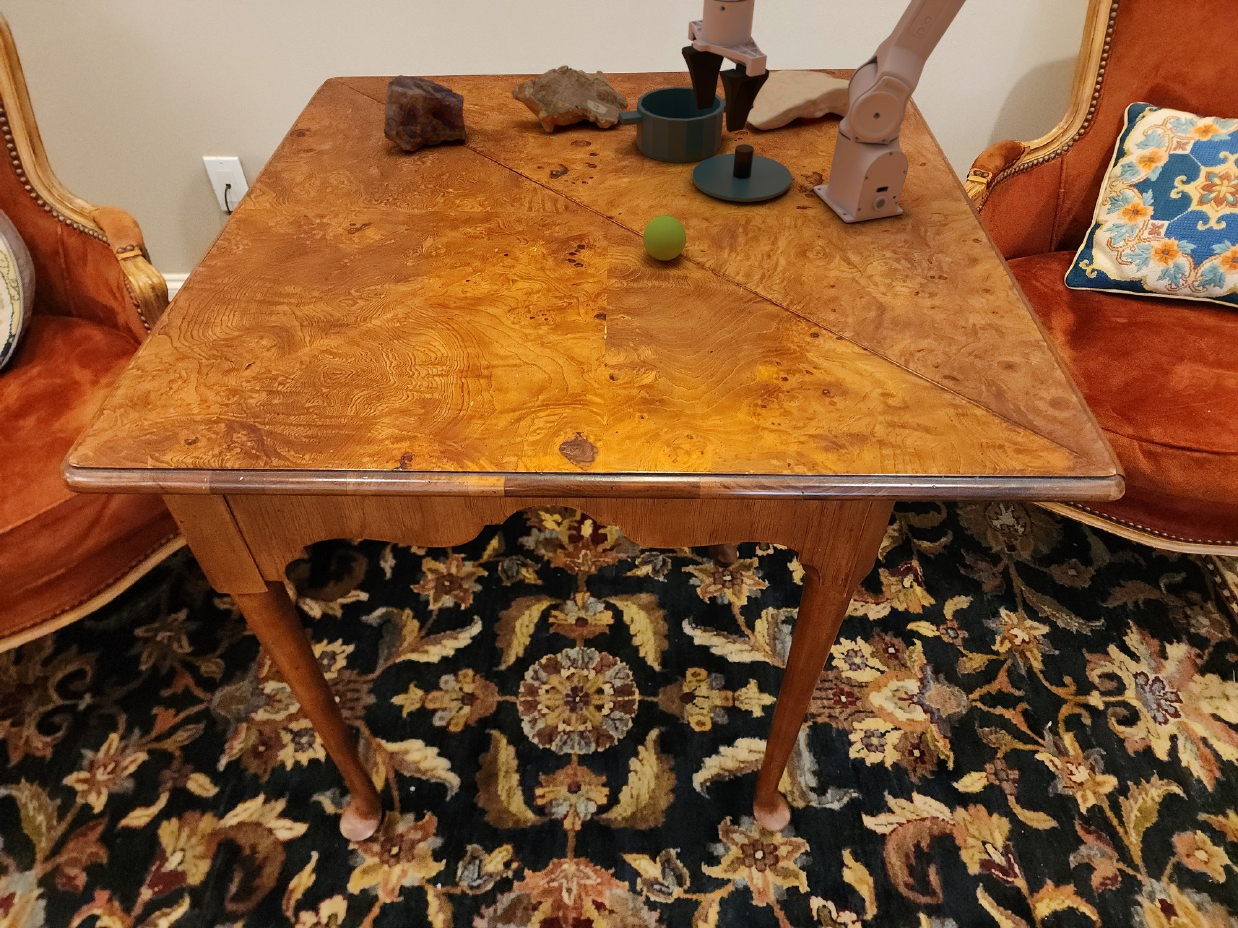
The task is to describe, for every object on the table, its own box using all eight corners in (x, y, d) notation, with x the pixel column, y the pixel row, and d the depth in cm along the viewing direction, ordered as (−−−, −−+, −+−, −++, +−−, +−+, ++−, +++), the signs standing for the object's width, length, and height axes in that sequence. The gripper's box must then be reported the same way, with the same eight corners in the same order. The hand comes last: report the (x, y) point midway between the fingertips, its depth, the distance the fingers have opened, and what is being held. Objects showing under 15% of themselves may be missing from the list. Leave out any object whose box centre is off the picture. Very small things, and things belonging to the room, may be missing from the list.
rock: (468, 157, 112) (459, 128, 118) (469, 97, 106) (459, 70, 112) (386, 155, 108) (381, 126, 115) (381, 93, 102) (377, 65, 109)
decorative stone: (840, 55, 124) (888, 82, 113) (835, 88, 127) (881, 117, 116) (717, 70, 120) (754, 99, 109) (715, 104, 123) (751, 135, 113)
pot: (750, 153, 109) (755, 111, 104) (633, 170, 105) (633, 127, 101) (719, 121, 117) (722, 80, 112) (609, 135, 113) (608, 94, 109)
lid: (807, 197, 99) (813, 162, 96) (712, 212, 97) (715, 177, 93) (766, 156, 108) (770, 122, 105) (678, 168, 106) (680, 134, 102)
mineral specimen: (558, 174, 119) (637, 122, 120) (557, 157, 112) (641, 102, 113) (511, 103, 118) (590, 51, 119) (507, 81, 111) (592, 26, 112)
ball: (691, 265, 88) (693, 225, 85) (650, 271, 87) (651, 232, 84) (676, 243, 91) (678, 204, 88) (637, 250, 91) (637, 211, 87)
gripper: (668, -17, 88) (664, 104, 98) (732, 17, 79) (721, 147, 89) (720, -24, 90) (711, 95, 100) (789, 8, 81) (772, 135, 91)
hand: (719, 118), depth 95 cm, fingers open, 7 cm apart
